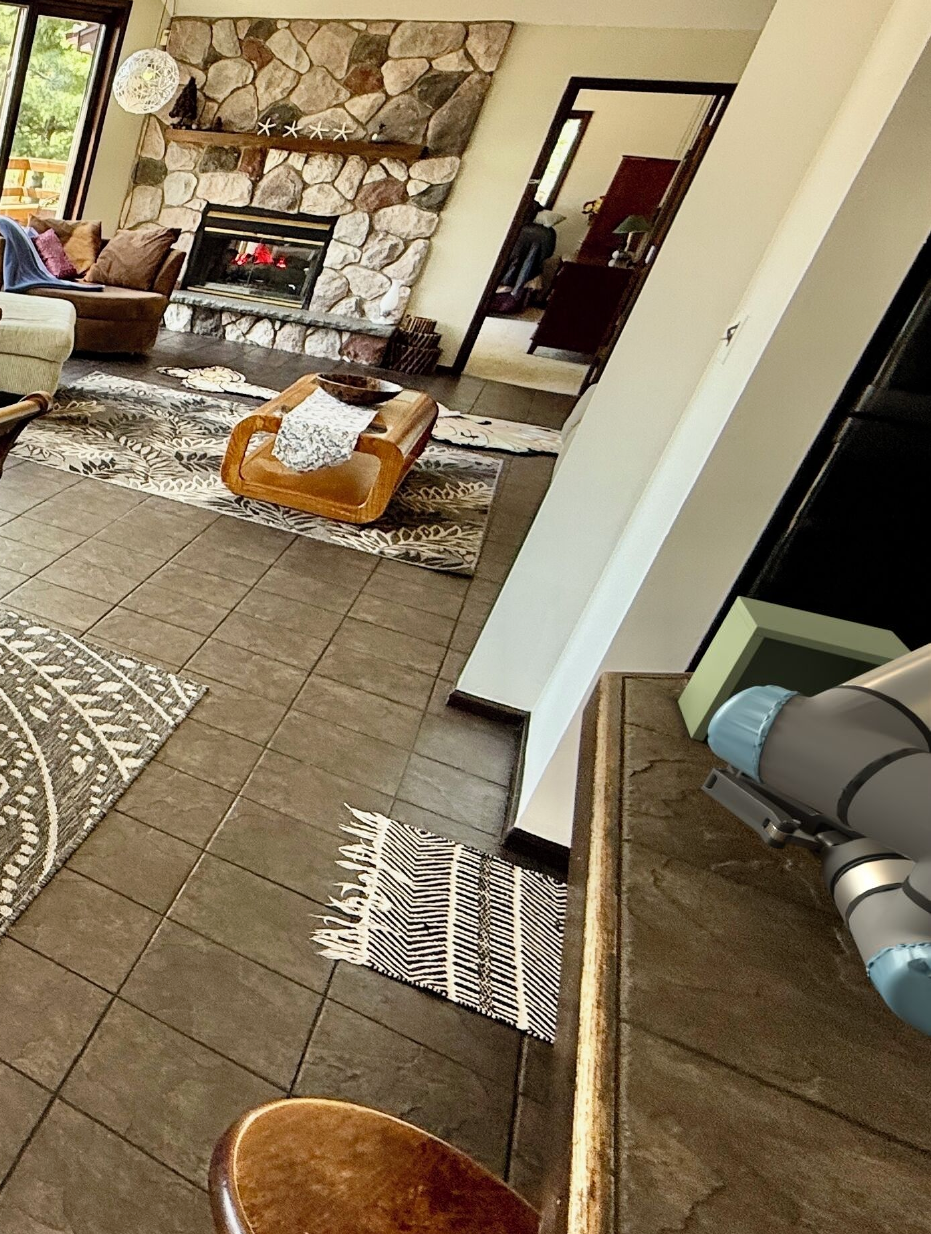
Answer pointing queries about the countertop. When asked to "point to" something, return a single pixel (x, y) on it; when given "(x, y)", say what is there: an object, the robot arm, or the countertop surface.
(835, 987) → the countertop surface
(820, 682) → the u-shaped block
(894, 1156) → the countertop surface
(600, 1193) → the countertop surface
